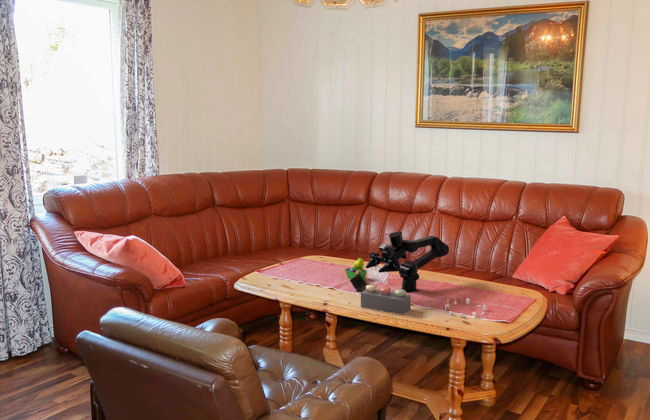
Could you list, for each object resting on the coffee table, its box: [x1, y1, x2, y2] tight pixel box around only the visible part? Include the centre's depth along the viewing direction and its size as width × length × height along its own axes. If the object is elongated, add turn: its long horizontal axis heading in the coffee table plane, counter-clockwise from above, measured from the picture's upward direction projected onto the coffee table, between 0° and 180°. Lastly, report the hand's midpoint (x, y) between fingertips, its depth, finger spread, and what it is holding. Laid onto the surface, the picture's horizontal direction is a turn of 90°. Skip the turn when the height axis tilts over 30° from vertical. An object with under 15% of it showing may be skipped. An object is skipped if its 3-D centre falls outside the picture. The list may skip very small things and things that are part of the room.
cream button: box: [366, 284, 377, 293], centre depth 275 cm, size 5×5×4 cm
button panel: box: [360, 288, 412, 316], centre depth 272 cm, size 22×8×7 cm, turn 59°
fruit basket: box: [344, 257, 368, 281], centre depth 316 cm, size 11×9×11 cm
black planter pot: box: [349, 274, 377, 293], centre depth 301 cm, size 13×8×11 cm
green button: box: [394, 288, 406, 298], centre depth 267 cm, size 5×5×4 cm
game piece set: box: [444, 297, 487, 319], centre depth 267 cm, size 19×20×4 cm
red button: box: [379, 286, 392, 295], centre depth 271 cm, size 5×5×4 cm
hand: (372, 269), depth 279 cm, fingers open, 9 cm apart
